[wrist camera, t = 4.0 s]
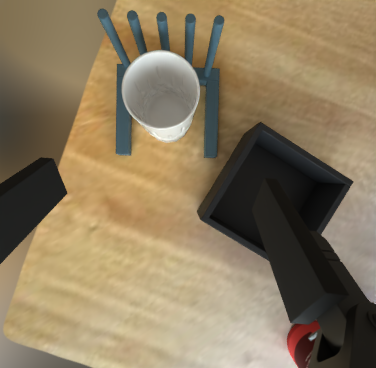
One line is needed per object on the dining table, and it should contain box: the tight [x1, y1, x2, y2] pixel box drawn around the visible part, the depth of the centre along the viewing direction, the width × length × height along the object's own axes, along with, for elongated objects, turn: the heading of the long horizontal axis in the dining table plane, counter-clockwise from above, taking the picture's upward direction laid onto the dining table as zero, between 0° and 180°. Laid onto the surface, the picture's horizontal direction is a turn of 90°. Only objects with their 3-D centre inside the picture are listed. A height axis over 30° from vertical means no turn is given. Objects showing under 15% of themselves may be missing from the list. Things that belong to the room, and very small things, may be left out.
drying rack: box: [97, 9, 224, 158], centre depth 23 cm, size 13×15×11 cm
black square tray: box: [197, 122, 353, 261], centre depth 26 cm, size 15×15×6 cm
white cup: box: [122, 50, 200, 143], centre depth 23 cm, size 8×8×10 cm
